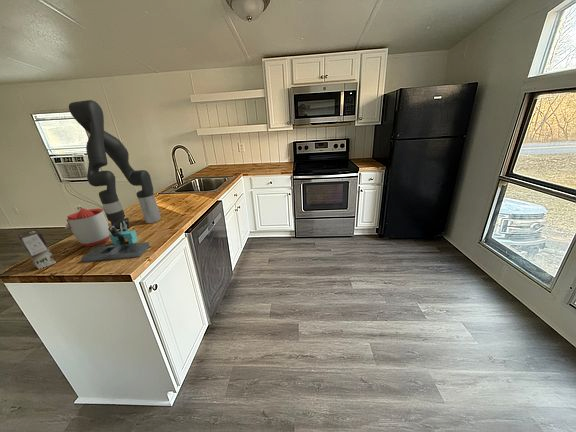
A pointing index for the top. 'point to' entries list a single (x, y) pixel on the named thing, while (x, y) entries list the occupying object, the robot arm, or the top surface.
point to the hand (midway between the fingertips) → (124, 239)
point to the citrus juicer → (89, 226)
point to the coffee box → (36, 248)
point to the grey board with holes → (116, 252)
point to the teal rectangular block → (125, 237)
